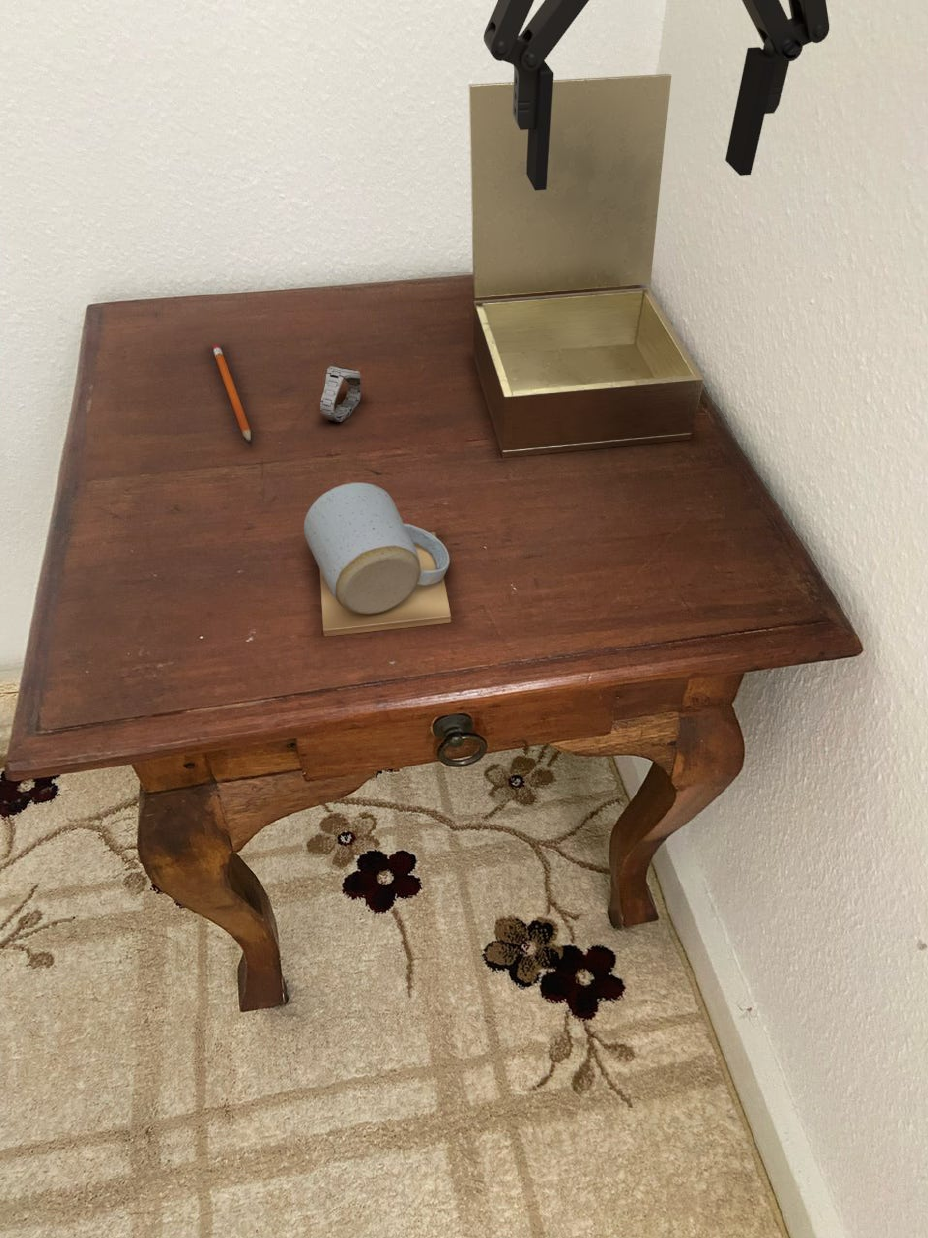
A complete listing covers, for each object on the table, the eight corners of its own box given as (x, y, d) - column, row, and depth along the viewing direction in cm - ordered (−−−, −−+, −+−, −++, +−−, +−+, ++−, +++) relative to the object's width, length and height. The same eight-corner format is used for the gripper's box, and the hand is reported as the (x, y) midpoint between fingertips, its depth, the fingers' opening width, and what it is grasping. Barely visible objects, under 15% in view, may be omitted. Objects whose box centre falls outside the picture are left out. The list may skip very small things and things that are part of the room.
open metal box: (690, 440, 85) (704, 378, 80) (502, 458, 83) (504, 396, 78) (639, 345, 96) (648, 287, 91) (473, 359, 95) (473, 300, 90)
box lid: (671, 74, 79) (653, 68, 83) (469, 85, 78) (461, 78, 82) (650, 284, 91) (636, 269, 95) (474, 297, 89) (467, 282, 93)
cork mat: (451, 622, 69) (451, 616, 68) (324, 637, 68) (322, 630, 67) (435, 538, 75) (435, 531, 75) (319, 550, 74) (318, 543, 74)
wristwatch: (370, 400, 90) (366, 356, 86) (343, 433, 86) (337, 389, 82) (340, 393, 90) (335, 349, 87) (311, 426, 87) (304, 381, 83)
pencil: (221, 350, 96) (219, 343, 96) (256, 446, 84) (254, 439, 84) (213, 352, 96) (211, 345, 95) (247, 449, 84) (245, 441, 84)
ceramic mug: (340, 633, 67) (330, 560, 61) (308, 565, 72) (296, 492, 66) (466, 594, 70) (467, 521, 64) (427, 531, 75) (425, 459, 69)
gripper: (908, -304, 45) (795, 141, 61) (429, -297, 42) (440, 165, 58) (990, -300, 40) (844, 183, 56) (452, -293, 37) (458, 212, 53)
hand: (638, 175), depth 57 cm, fingers open, 13 cm apart
